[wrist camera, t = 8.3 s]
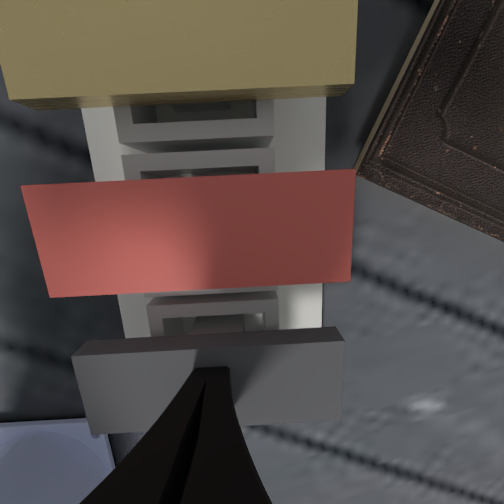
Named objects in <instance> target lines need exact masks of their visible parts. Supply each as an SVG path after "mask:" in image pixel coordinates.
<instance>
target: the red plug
mask: <svg viewBox="0 0 504 504" xmlns="http://www.w3.org/2000/svg"><path fill="white" fill-rule="evenodd" d="M355 176H356V169H341V170H321V171H301V172H281V173H261V174H241V175H221V176H201V177H181V178H161V179H141V180H121V181H101V182H81V183H61V184H41V185H21V190H22V194H23V198H24V202H25V205H26V209H27V213H28V217H29V221H30V224H31V228H32V232H33V236H34V239H35V243H36V247H37V251H38V255H39V258H40V262H41V266H42V270H43V274H44V277H45V281H46V285H47V289H48V293H49V296H50V298H56V297H75V296H93V295H112V294H130V293H149V292H167V291H186V290H204V289H223V288H241V287H260V286H278V285H297V284H315V283H334V282H350V279H351V258H352V238H353V217H354V197H355Z"/></svg>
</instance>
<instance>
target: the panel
mask: <svg viewBox="0 0 504 504" xmlns="http://www.w3.org/2000/svg"><path fill="white" fill-rule="evenodd" d="M81 110H82V116H83V121H84V126H85V131H86V136H87V142H88V147H89V152H90V157H91V162H92V167H93V173H94V178H95V182H101V181H121V180H141V179H161V178H181V177H201V176H221V175H241V174H261V173H281V172H301V171H321V170H325V131H326V97H310V98H289V99H267V100H246V101H231V109H230V110H209V111H188V112H176V111H175V110H174V109H173V108H172V107H171V106H170V104H162V105H141V106H119V107H98V108H81ZM117 297H118V302H119V307H120V313H121V318H122V323H123V328H124V333H125V338H138V337H156V336H174V335H189V334H190V332H191V329H192V327H193V324H194V322H195V319H196V317H197V316H215V315H233V314H244V326H245V332H246V331H264V330H282V329H300V328H318V327H322V283H315V284H297V285H278V286H260V287H241V288H223V289H204V290H186V291H167V292H149V293H130V294H117Z"/></svg>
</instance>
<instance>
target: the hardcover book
mask: <svg viewBox="0 0 504 504" xmlns="http://www.w3.org/2000/svg"><path fill="white" fill-rule="evenodd" d="M353 169H356V175H358V176H360V177H362V178H364V179H366V180H369V181H371V182H373V183H375V184H377V185H380V186H382V187H384V188H386V189H388V190H391V191H393V192H395V193H397V194H399V195H402V196H404V197H406V198H408V199H410V200H413V201H415V202H417V203H419V204H421V205H424V206H426V207H428V208H430V209H432V210H435V211H437V212H439V213H441V214H443V215H446V216H448V217H450V218H452V219H454V220H456V221H459V222H461V223H463V224H465V225H467V226H470V227H472V228H474V229H476V230H478V231H481V232H483V233H485V234H487V235H489V236H492V237H494V238H496V239H498V240H500V241H503V242H504V0H434V2H433V5H432V7H431V9H430V11H429V13H428V15H427V17H426V19H425V21H424V23H423V25H422V27H421V29H420V31H419V33H418V35H417V37H416V40H415V42H414V44H413V46H412V48H411V50H410V52H409V54H408V56H407V58H406V60H405V62H404V64H403V66H402V68H401V70H400V72H399V75H398V77H397V79H396V81H395V83H394V85H393V87H392V89H391V91H390V93H389V95H388V97H387V99H386V101H385V103H384V105H383V108H382V110H381V112H380V114H379V116H378V118H377V120H376V122H375V124H374V126H373V128H372V130H371V132H370V134H369V136H368V139H367V141H366V143H365V145H364V147H363V149H362V151H361V153H360V155H359V157H358V159H357V161H356V163H355V166H354V168H353Z"/></svg>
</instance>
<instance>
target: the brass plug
mask: <svg viewBox="0 0 504 504" xmlns="http://www.w3.org/2000/svg"><path fill="white" fill-rule="evenodd" d="M357 14H358V0H0V64H1V68H2V72H3V76H4V80H5V84H6V88H7V92H8V96H9V100H11V101H14V102H17V103H19V104H22V105H25V106H27V107H30V108H32V109H35V110H56V109H77V108H98V107H119V106H141V105H162V104H170V106H171V107H172V108H173V109H174V110H175V111H176V112H188V111H209V110H230V109H231V101H246V100H267V99H289V98H310V97H331V96H342V95H343V94H344V93H345V92H346V91H347V90H348V89H349V88H350V87H351V86H352V85H354V82H355V59H356V36H357Z"/></svg>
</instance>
